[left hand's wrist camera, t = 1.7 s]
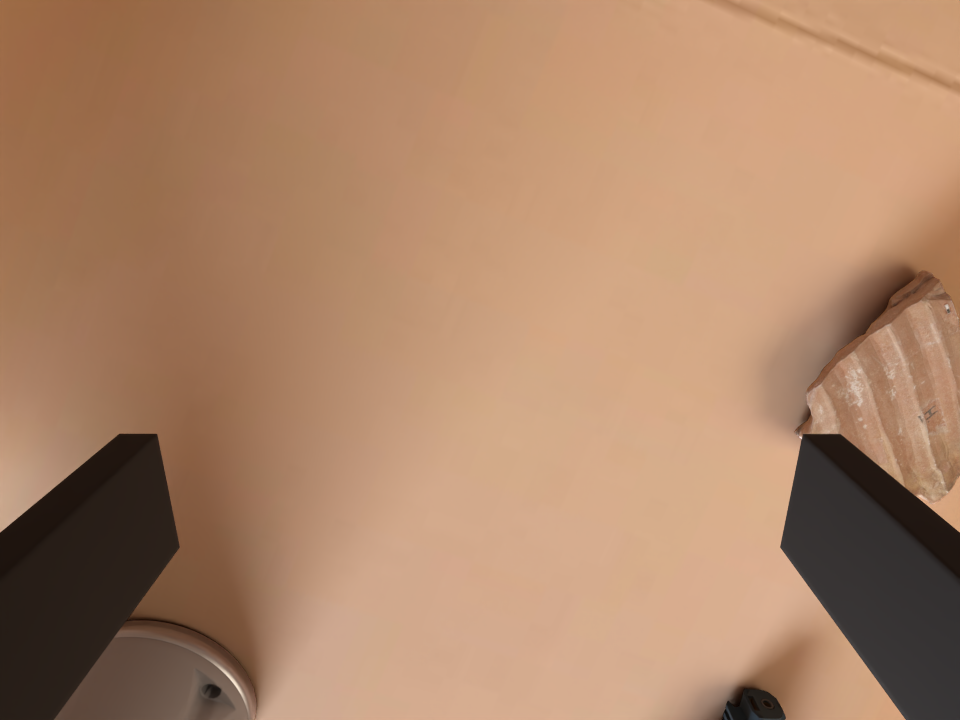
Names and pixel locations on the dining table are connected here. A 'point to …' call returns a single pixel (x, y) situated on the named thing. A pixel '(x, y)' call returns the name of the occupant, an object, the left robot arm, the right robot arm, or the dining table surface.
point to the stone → (899, 390)
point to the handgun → (755, 707)
